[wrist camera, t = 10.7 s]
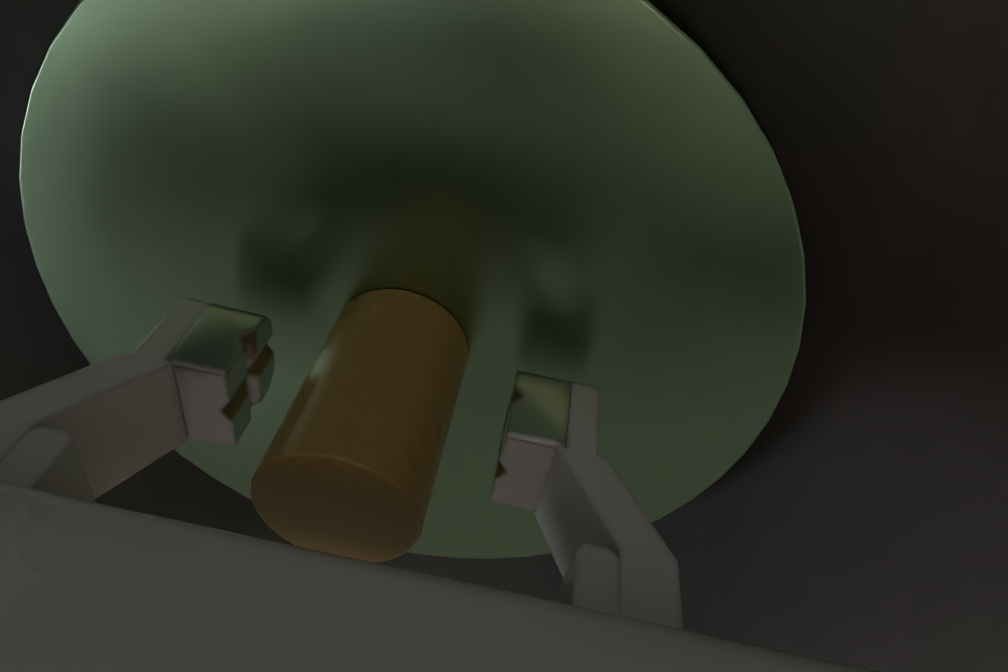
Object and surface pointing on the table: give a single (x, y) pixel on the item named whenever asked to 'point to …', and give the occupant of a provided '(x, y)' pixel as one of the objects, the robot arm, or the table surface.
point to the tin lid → (423, 241)
